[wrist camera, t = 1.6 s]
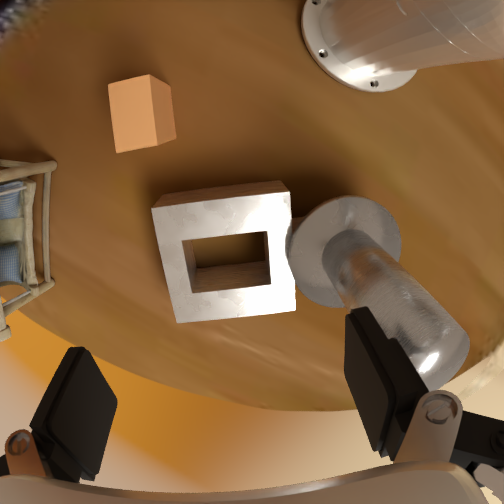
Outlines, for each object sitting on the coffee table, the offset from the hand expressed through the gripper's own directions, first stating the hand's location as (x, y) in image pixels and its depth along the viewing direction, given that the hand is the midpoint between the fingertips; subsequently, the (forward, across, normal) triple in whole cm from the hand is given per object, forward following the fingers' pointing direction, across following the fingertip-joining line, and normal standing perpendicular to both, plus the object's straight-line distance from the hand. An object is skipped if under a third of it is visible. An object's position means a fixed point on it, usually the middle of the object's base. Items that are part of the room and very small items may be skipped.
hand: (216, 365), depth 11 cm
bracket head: (+21, -4, +4) cm, 22 cm away
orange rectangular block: (+21, +5, -9) cm, 24 cm away
